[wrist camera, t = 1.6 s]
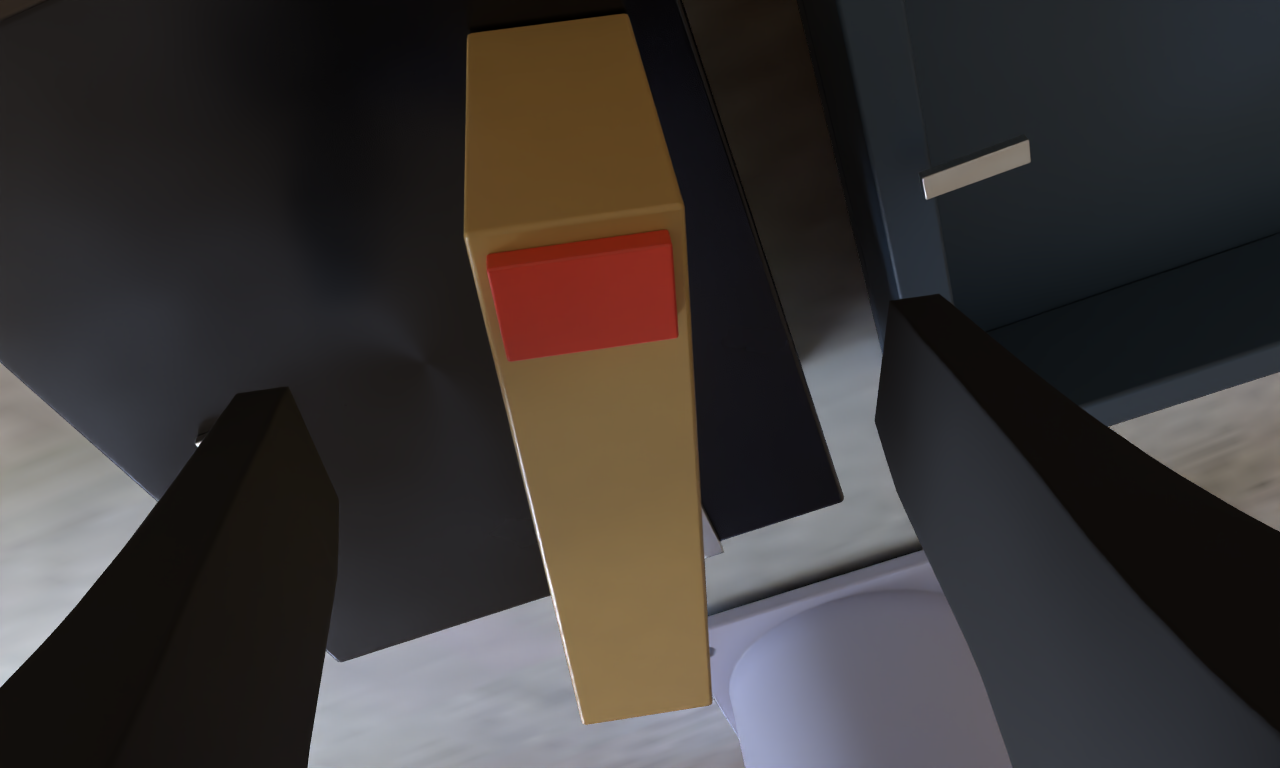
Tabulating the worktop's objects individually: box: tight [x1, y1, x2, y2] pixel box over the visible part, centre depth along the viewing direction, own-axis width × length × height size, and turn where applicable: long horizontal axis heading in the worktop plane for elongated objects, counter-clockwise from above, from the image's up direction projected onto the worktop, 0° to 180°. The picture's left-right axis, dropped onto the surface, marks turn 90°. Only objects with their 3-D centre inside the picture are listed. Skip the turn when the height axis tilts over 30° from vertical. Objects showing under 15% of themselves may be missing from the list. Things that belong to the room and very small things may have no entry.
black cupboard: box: [0, 0, 1031, 662], centre depth 15 cm, size 14×12×4 cm
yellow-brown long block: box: [464, 14, 712, 725], centre depth 12 cm, size 8×2×4 cm, turn 5°
